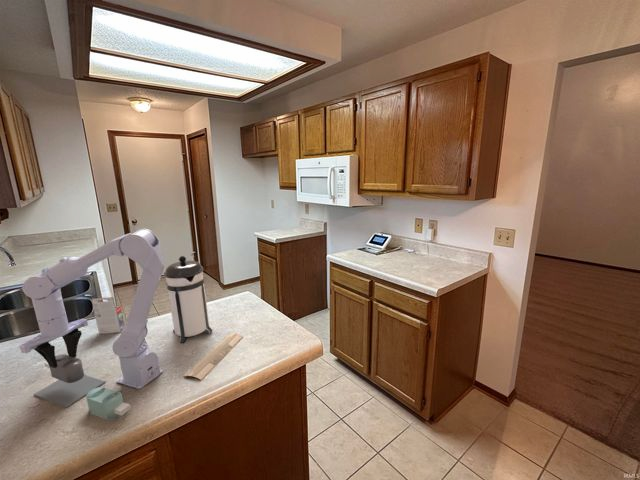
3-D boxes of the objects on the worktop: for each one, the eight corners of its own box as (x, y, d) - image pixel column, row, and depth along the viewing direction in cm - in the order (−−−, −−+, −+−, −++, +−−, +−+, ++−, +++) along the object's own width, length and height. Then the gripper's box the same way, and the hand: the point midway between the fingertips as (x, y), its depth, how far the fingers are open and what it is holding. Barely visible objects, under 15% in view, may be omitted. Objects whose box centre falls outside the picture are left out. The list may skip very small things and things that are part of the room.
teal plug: (85, 411, 76) (82, 396, 75) (101, 400, 79) (98, 385, 78) (119, 424, 71) (116, 408, 70) (134, 411, 75) (131, 396, 74)
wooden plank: (228, 336, 109) (228, 332, 109) (245, 339, 107) (245, 334, 107) (183, 379, 87) (183, 374, 87) (204, 383, 85) (203, 378, 85)
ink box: (104, 329, 116) (96, 294, 112) (125, 328, 116) (119, 293, 113) (98, 334, 112) (90, 298, 109) (120, 333, 113) (113, 297, 110)
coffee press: (222, 322, 118) (214, 250, 111) (199, 345, 103) (188, 263, 96) (183, 320, 121) (172, 249, 114) (155, 342, 106) (141, 261, 99)
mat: (105, 382, 86) (105, 381, 86) (66, 408, 77) (66, 406, 77) (74, 372, 91) (73, 371, 91) (33, 395, 82) (33, 394, 82)
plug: (87, 375, 83) (84, 360, 82) (71, 384, 79) (68, 370, 78) (59, 364, 87) (56, 351, 86) (43, 373, 83) (39, 359, 82)
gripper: (72, 303, 87) (82, 344, 90) (7, 327, 73) (21, 375, 77) (88, 306, 84) (98, 348, 87) (24, 332, 71) (38, 381, 74)
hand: (63, 361), depth 82 cm, fingers closed on plug, 4 cm apart
